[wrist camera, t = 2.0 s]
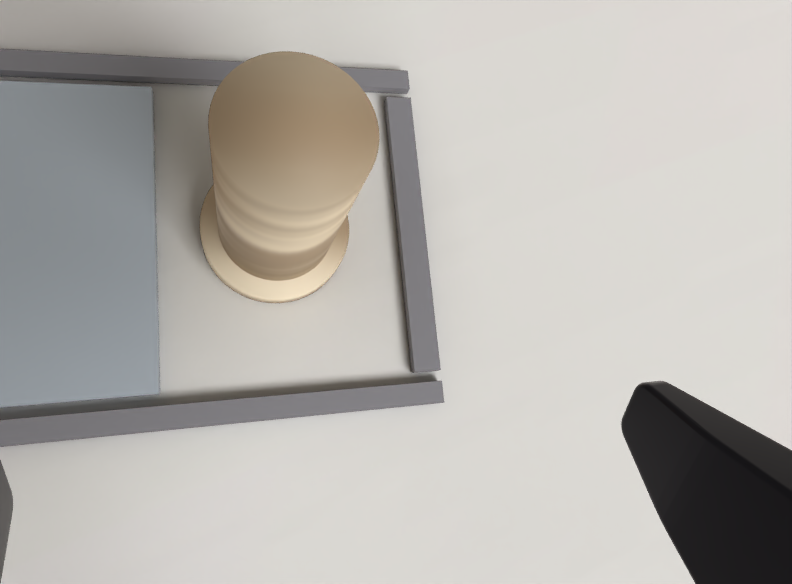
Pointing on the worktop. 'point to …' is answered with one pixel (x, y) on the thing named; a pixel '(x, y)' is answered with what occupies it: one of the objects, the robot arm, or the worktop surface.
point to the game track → (138, 250)
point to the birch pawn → (284, 174)
